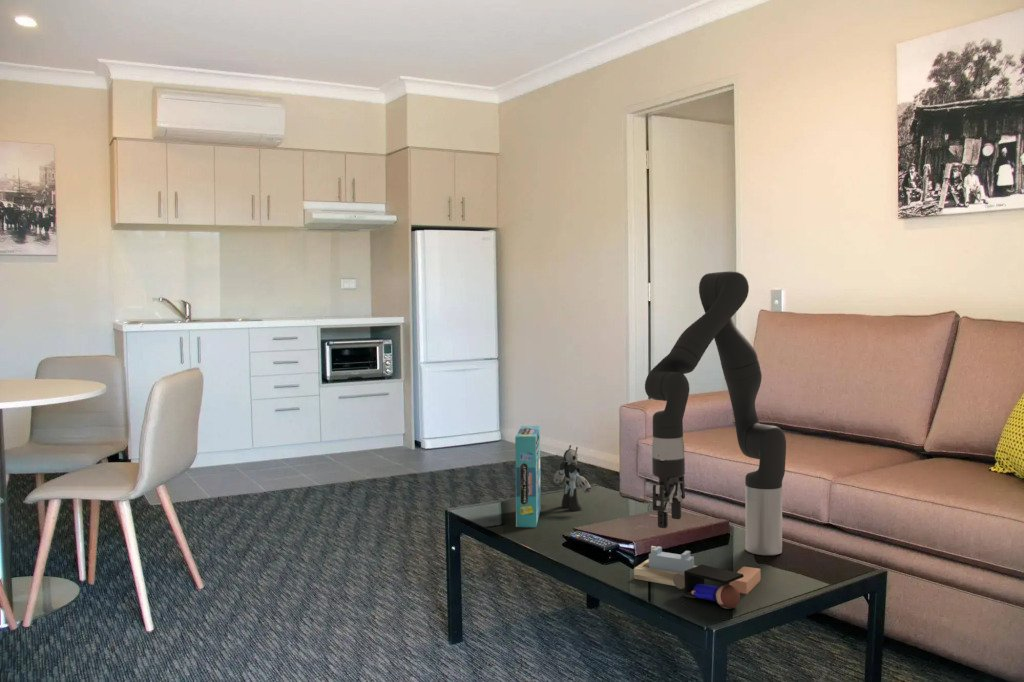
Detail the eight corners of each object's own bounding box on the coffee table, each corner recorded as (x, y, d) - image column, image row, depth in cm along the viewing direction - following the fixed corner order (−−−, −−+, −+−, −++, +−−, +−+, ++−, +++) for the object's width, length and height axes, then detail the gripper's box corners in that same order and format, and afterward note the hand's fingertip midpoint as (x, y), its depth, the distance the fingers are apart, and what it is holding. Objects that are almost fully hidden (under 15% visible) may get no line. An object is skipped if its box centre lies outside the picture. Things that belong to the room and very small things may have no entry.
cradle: (649, 568, 207) (649, 558, 207) (704, 577, 200) (704, 567, 199) (634, 578, 200) (634, 568, 199) (690, 588, 192) (690, 577, 192)
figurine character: (672, 602, 187) (728, 614, 176) (669, 568, 188) (725, 577, 176) (692, 596, 192) (748, 606, 180) (689, 562, 192) (744, 570, 180)
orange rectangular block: (743, 578, 199) (743, 566, 199) (760, 581, 197) (760, 568, 197) (729, 592, 190) (729, 579, 190) (746, 595, 188) (746, 582, 188)
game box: (521, 510, 267) (520, 425, 266) (541, 510, 267) (540, 425, 266) (515, 527, 247) (514, 436, 246) (537, 527, 246) (535, 436, 245)
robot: (548, 503, 277) (548, 442, 276) (561, 501, 279) (560, 441, 278) (582, 515, 260) (581, 451, 259) (595, 513, 262) (594, 449, 261)
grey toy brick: (654, 568, 203) (654, 544, 203) (694, 575, 198) (694, 550, 198) (648, 572, 201) (648, 548, 200) (689, 579, 195) (688, 554, 195)
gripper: (664, 449, 206) (666, 514, 207) (641, 459, 194) (642, 528, 195) (694, 451, 202) (695, 517, 203) (672, 462, 190) (673, 532, 191)
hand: (669, 523), depth 199 cm, fingers open, 8 cm apart
